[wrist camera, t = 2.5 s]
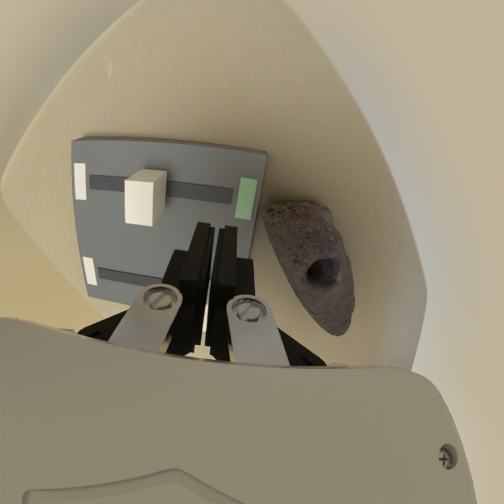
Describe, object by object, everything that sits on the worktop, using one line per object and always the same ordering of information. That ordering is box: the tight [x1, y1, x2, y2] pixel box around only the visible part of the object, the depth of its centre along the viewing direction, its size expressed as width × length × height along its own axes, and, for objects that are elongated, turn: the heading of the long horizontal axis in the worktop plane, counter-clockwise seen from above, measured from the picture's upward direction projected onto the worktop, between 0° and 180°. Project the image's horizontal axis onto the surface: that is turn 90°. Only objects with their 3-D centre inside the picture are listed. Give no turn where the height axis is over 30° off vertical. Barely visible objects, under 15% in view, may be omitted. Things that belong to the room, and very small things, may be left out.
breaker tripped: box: [125, 169, 167, 226], centre depth 18 cm, size 2×3×3 cm, turn 170°
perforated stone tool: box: [262, 201, 355, 336], centre depth 22 cm, size 15×5×7 cm, turn 24°
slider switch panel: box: [71, 137, 268, 305], centre depth 23 cm, size 16×16×2 cm
